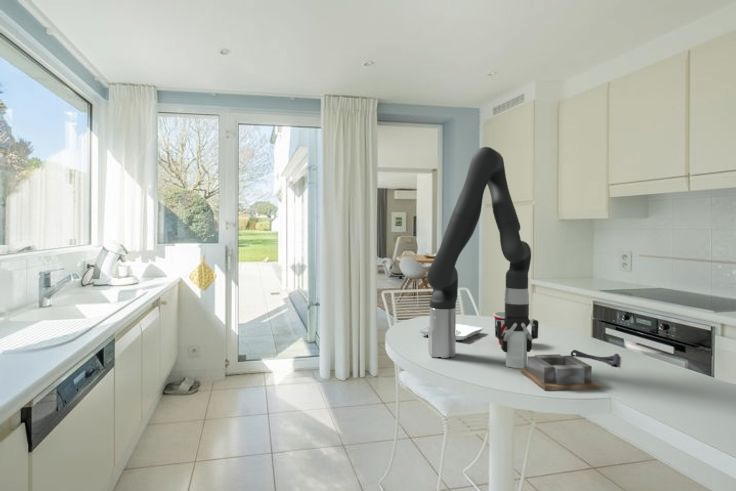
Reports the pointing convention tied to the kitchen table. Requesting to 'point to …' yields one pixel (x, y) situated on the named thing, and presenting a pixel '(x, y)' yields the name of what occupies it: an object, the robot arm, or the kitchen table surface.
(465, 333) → the salad plate
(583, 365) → the holder
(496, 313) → the plastic cup
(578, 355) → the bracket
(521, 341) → the skincare box
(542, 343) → the kitchen table surface
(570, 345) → the kitchen table surface
